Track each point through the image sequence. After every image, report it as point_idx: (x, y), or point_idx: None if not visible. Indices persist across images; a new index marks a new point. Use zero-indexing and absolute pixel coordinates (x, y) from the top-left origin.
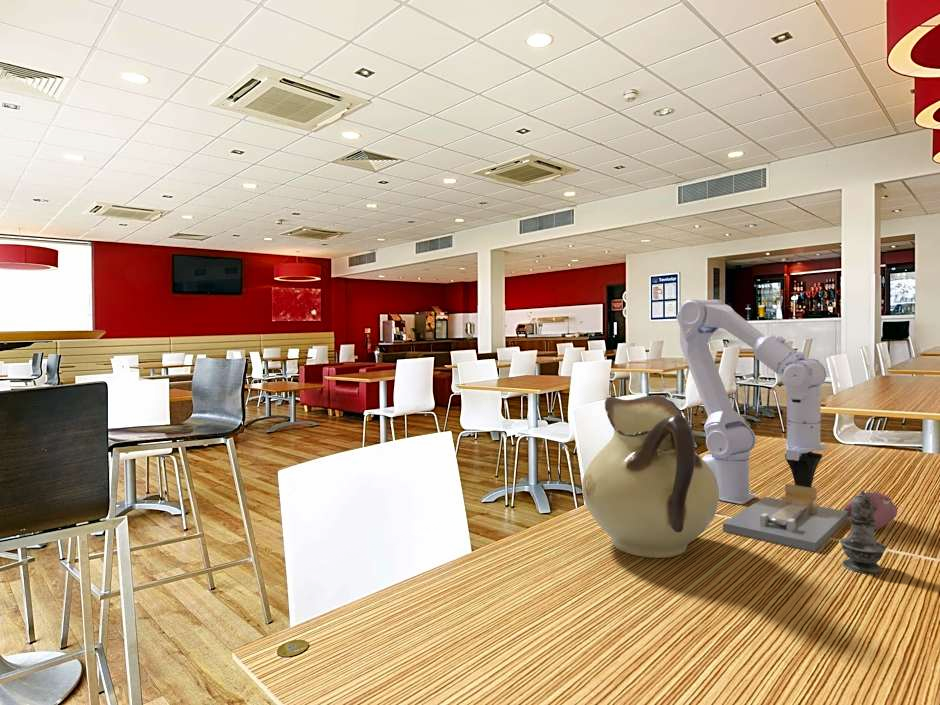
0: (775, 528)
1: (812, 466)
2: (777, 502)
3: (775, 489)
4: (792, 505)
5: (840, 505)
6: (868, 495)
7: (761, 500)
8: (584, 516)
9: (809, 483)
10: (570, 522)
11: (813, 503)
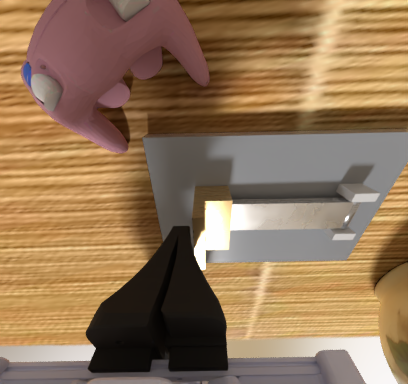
0: None
1: (209, 286)
2: None
3: (77, 265)
4: (233, 223)
5: (63, 171)
6: (94, 88)
7: None
8: (337, 330)
9: (190, 239)
10: (361, 329)
11: (225, 197)
